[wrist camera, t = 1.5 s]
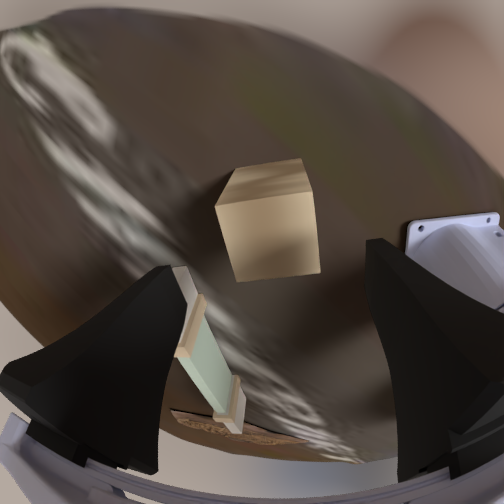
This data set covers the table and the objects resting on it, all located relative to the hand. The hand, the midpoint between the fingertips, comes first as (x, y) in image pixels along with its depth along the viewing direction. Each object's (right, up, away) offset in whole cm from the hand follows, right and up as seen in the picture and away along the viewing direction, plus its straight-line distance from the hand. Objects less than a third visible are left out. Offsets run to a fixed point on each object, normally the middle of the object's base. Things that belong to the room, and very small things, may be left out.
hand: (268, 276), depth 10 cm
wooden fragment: (-2, -29, +29) cm, 41 cm away
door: (-5, -8, +15) cm, 18 cm away
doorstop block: (+1, +5, +7) cm, 8 cm away
